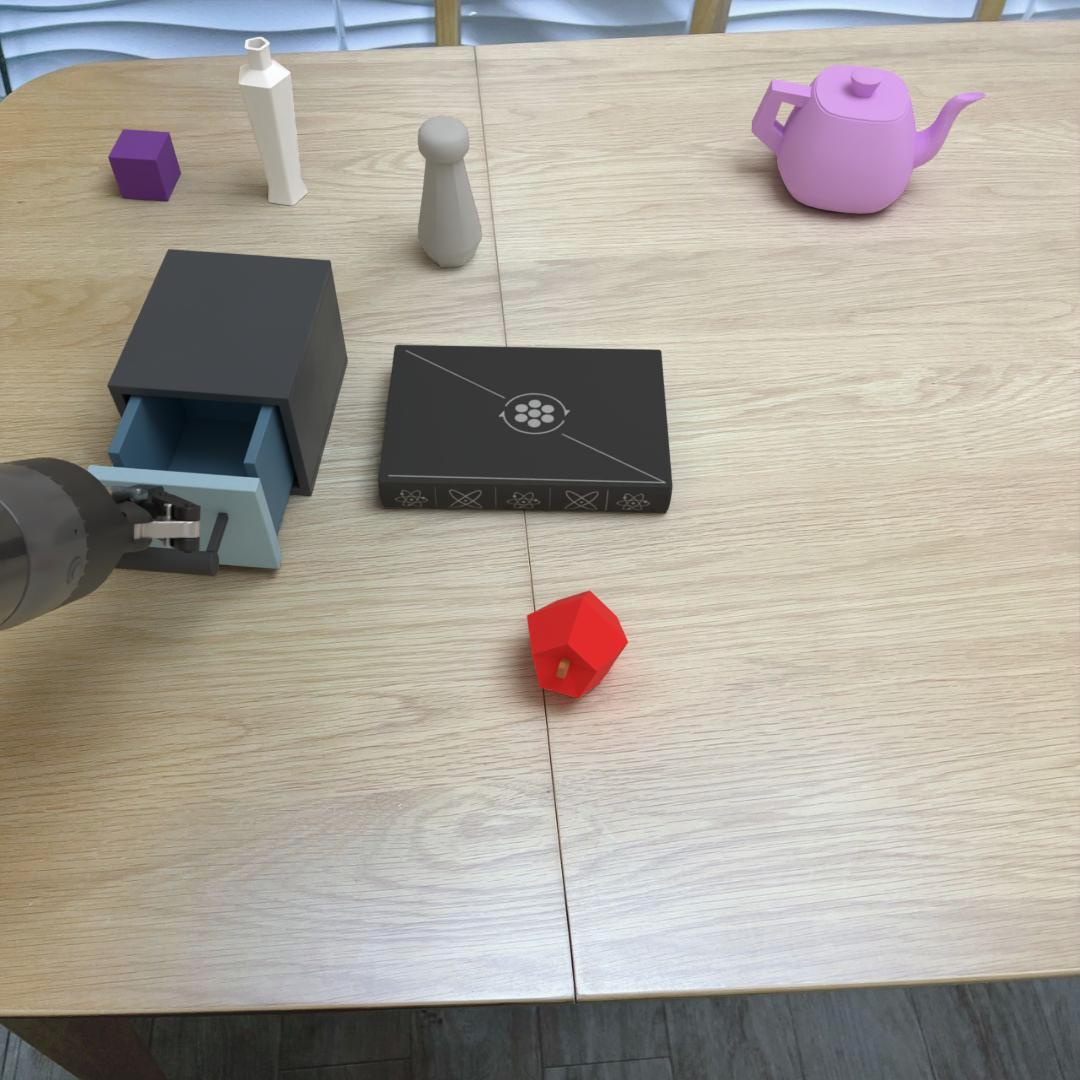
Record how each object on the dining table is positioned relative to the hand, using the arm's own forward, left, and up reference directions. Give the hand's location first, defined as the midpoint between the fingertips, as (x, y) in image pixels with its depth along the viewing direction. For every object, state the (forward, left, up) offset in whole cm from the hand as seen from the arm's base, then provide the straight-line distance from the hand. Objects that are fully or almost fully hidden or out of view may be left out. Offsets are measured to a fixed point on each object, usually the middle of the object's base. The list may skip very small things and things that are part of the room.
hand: (152, 501), depth 69 cm
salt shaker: (+13, +39, -11) cm, 43 cm away
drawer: (0, +7, -10) cm, 12 cm away
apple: (+27, -3, -11) cm, 29 cm away
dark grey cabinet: (0, +17, -11) cm, 20 cm away
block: (-17, +46, -11) cm, 50 cm away
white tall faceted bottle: (-4, +46, -11) cm, 48 cm away
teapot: (+50, +54, -11) cm, 75 cm away
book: (+22, +17, -11) cm, 30 cm away
